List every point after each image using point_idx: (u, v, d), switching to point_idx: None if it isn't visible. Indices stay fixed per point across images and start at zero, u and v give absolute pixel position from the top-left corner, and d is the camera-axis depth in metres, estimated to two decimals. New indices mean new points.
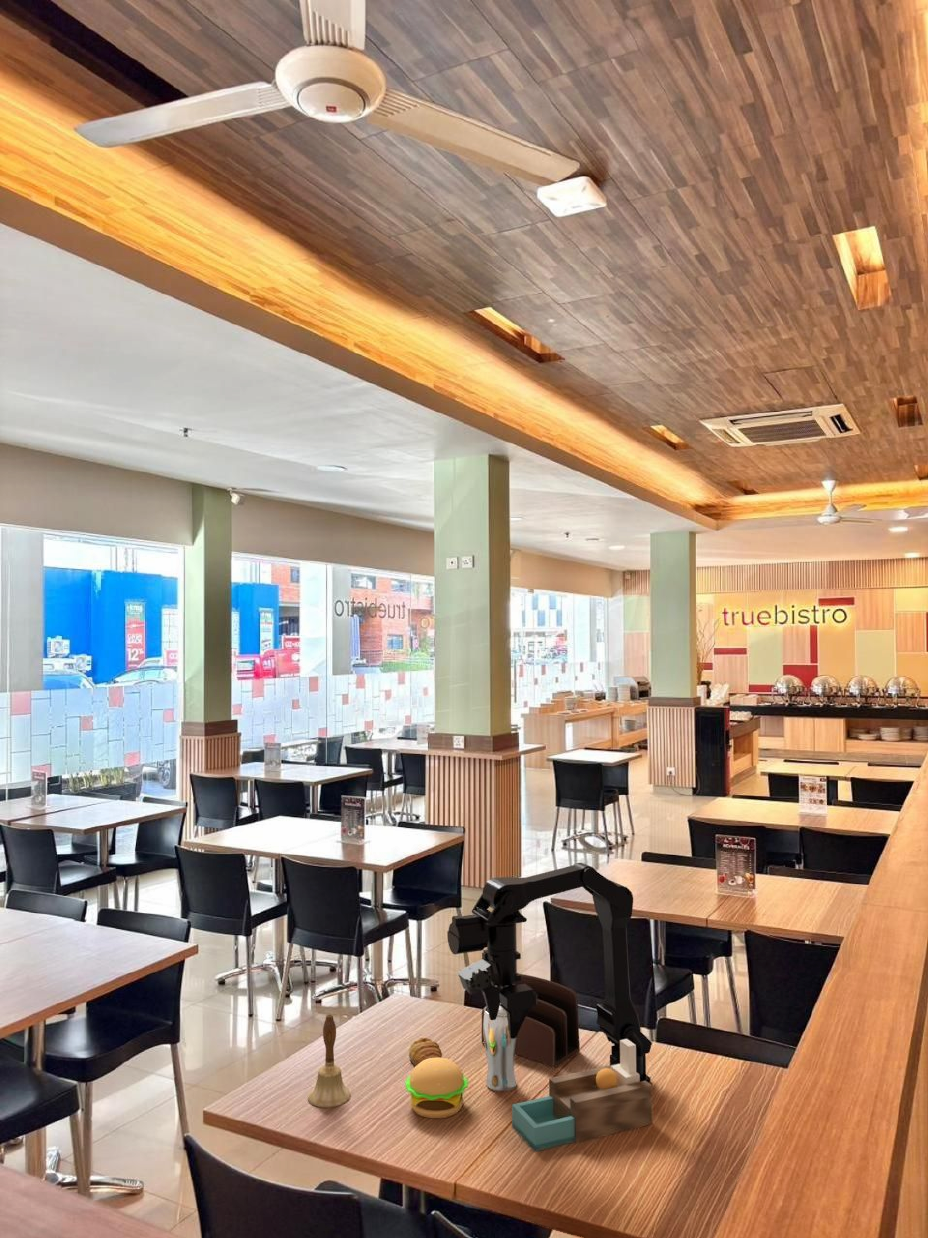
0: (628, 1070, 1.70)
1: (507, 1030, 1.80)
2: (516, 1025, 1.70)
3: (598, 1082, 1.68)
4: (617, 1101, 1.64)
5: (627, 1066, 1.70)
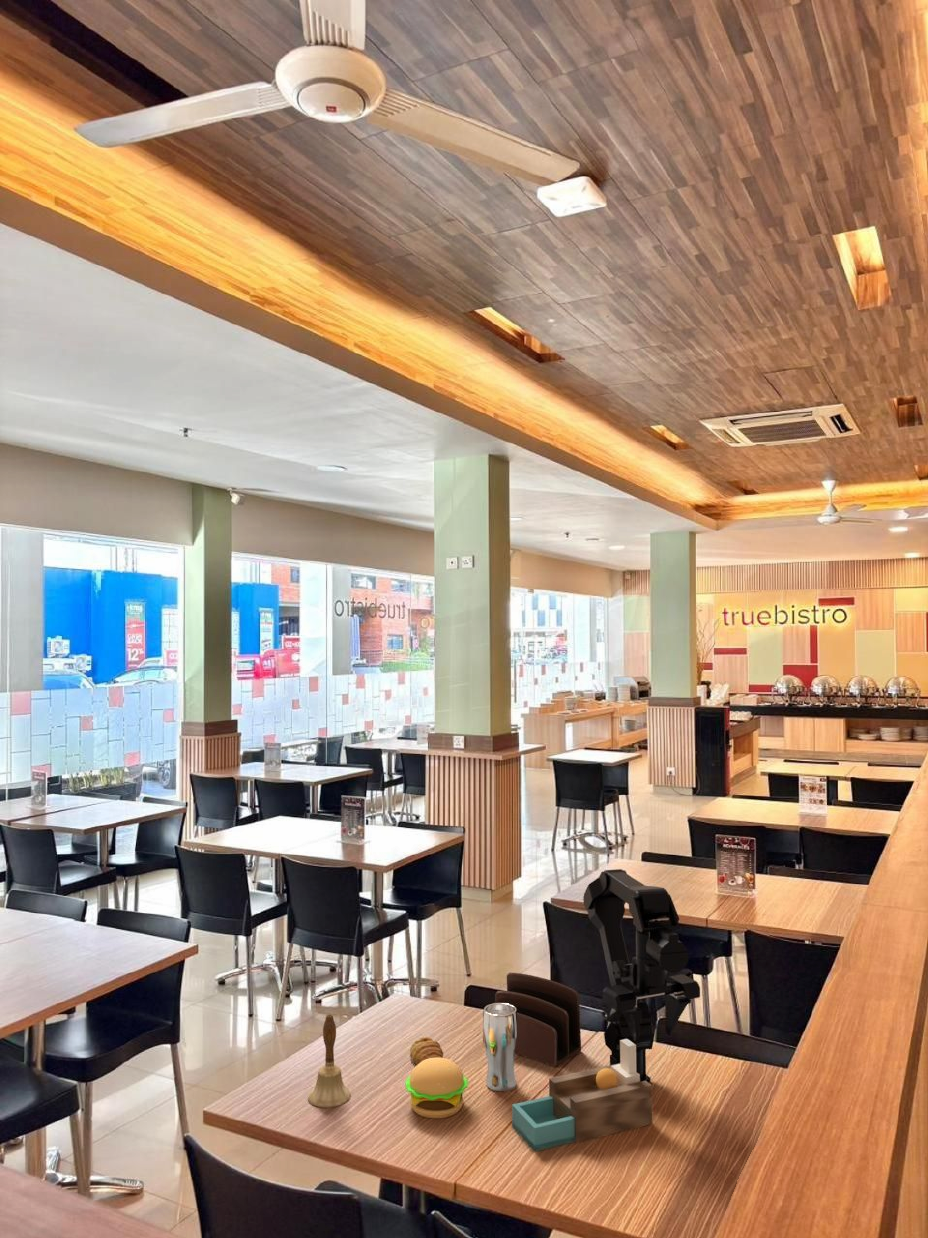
0: (628, 1070, 1.70)
1: (507, 1030, 1.80)
2: (631, 1028, 1.72)
3: (598, 1082, 1.68)
4: (617, 1101, 1.64)
5: (627, 1066, 1.70)
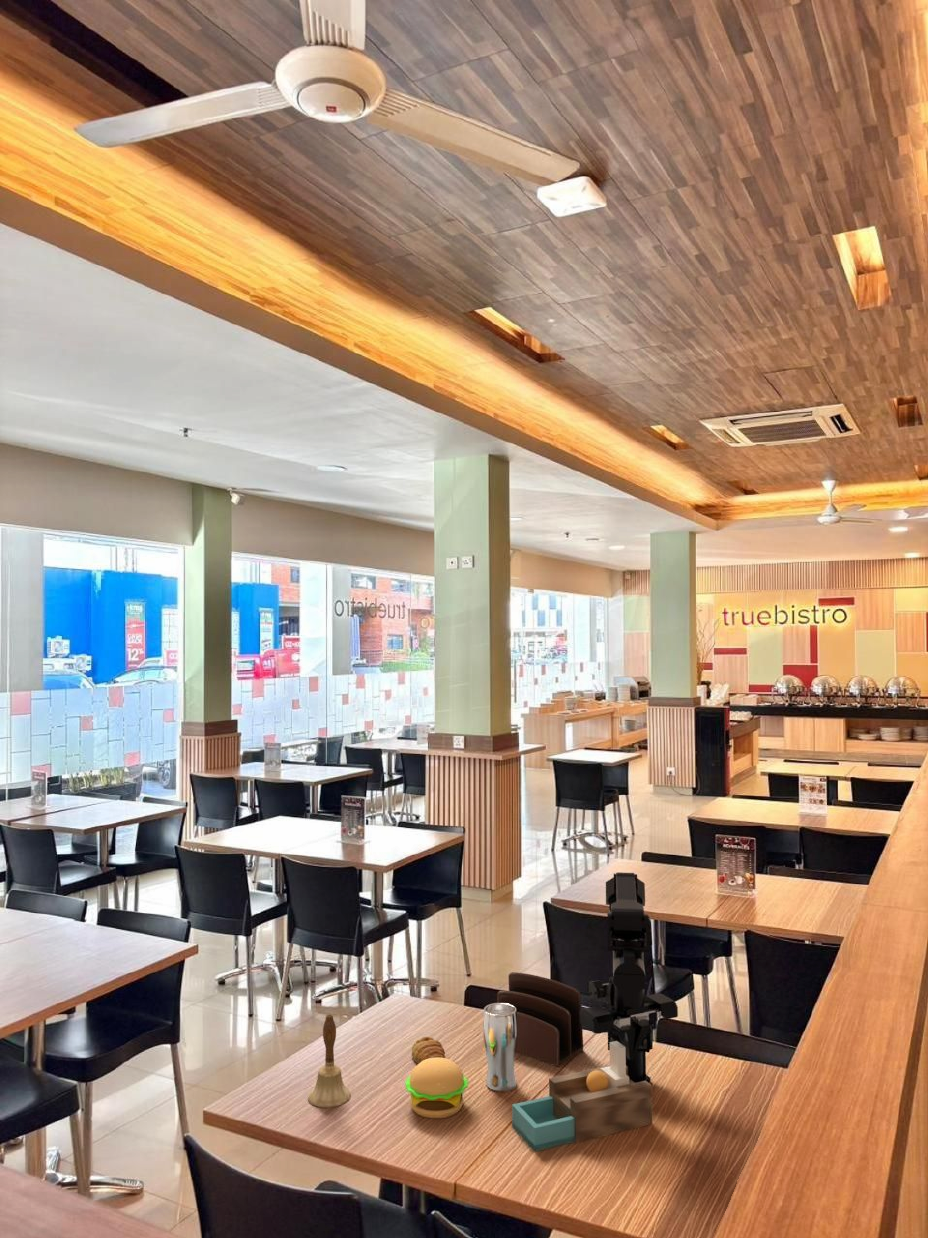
0: (617, 1072, 1.69)
1: (507, 1030, 1.80)
2: (625, 1046, 1.71)
3: None
4: (617, 1101, 1.64)
5: (616, 1068, 1.69)
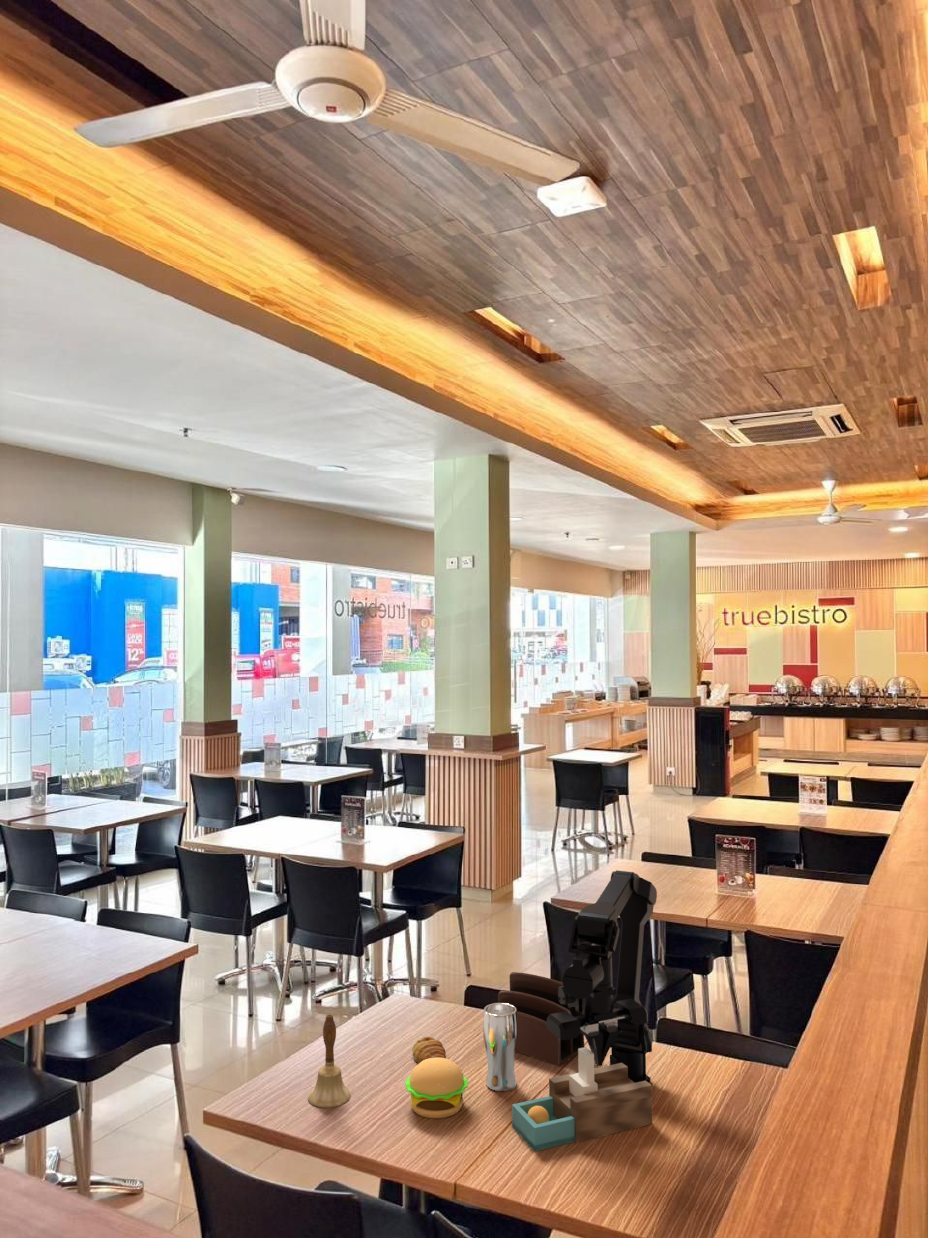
0: (585, 1079, 1.66)
1: (507, 1030, 1.80)
2: (594, 1052, 1.68)
3: None
4: (617, 1101, 1.64)
5: (584, 1075, 1.67)
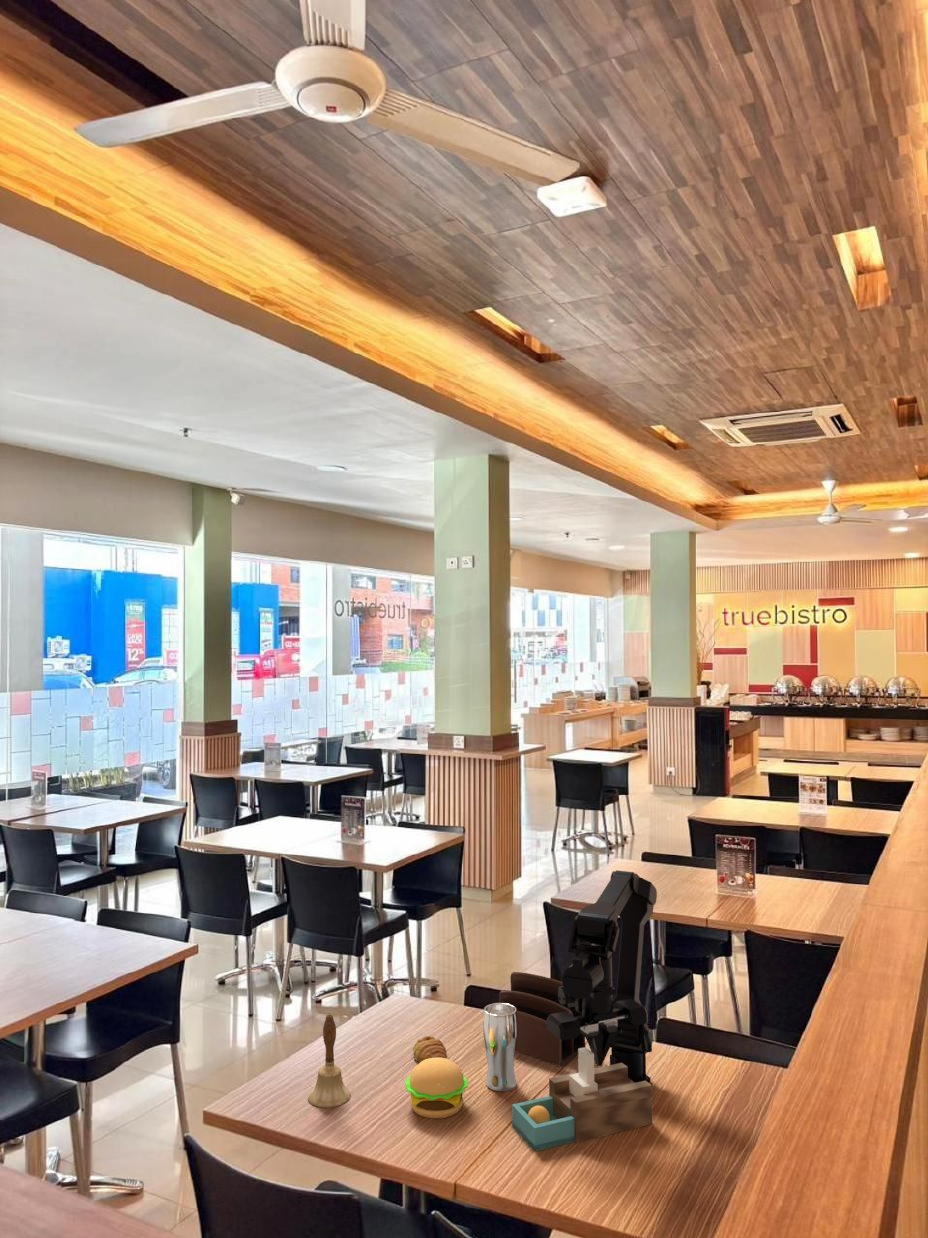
0: (585, 1079, 1.66)
1: (507, 1030, 1.80)
2: (594, 1052, 1.68)
3: None
4: (617, 1101, 1.64)
5: (584, 1075, 1.67)
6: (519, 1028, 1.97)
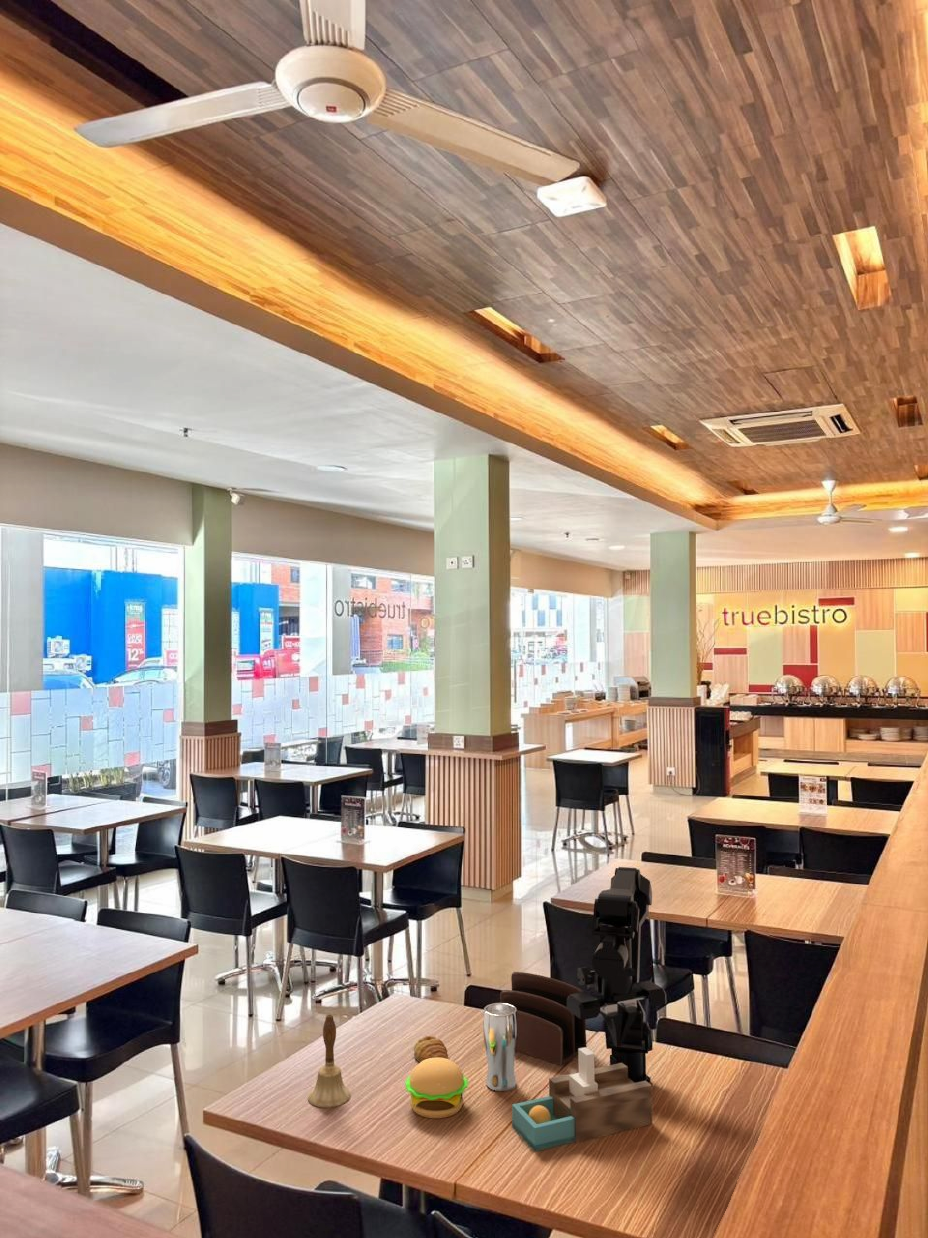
0: (586, 1079, 1.66)
1: (507, 1030, 1.80)
2: (612, 1032, 1.70)
3: None
4: (617, 1101, 1.64)
5: (585, 1075, 1.67)
6: (520, 1028, 1.97)
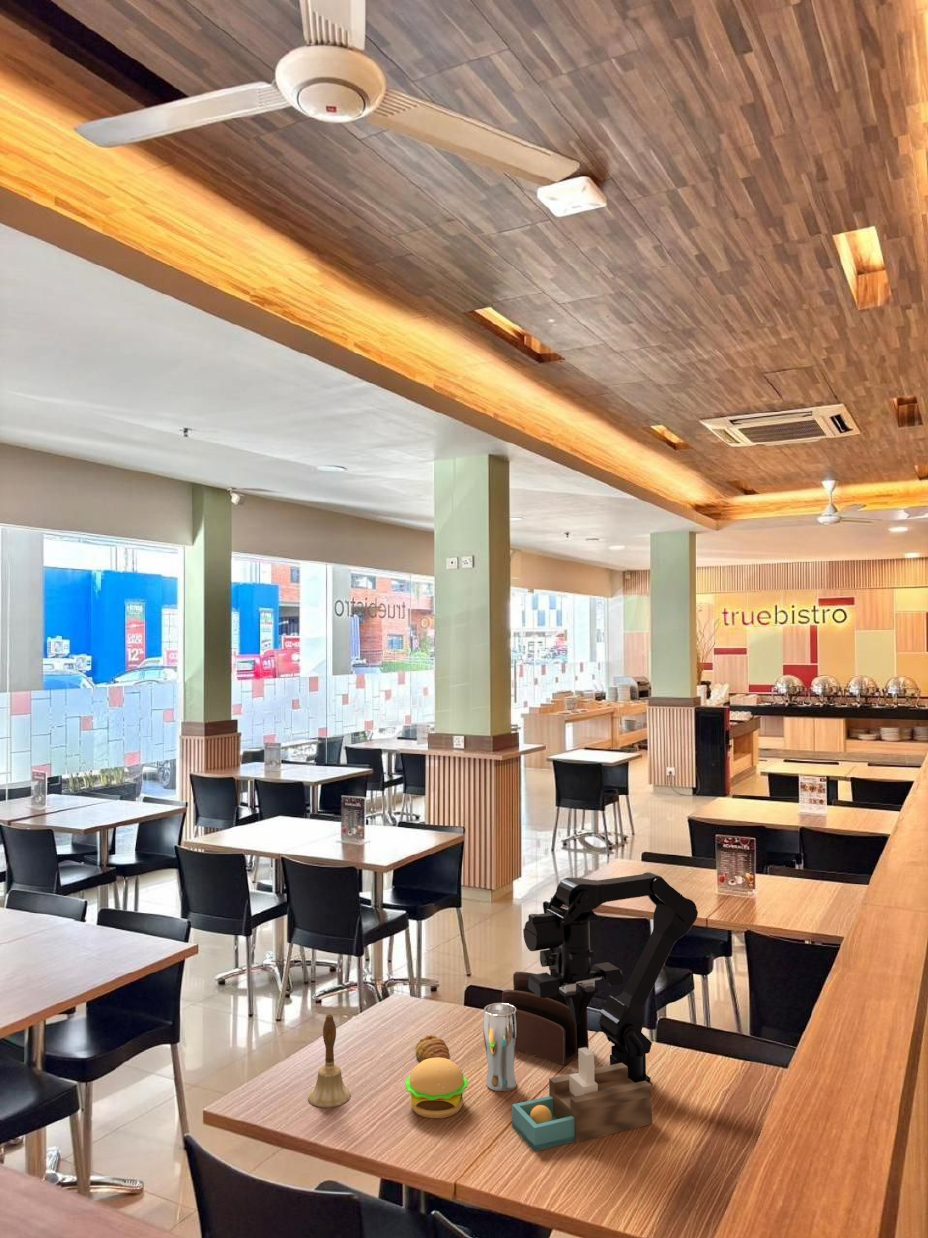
0: (586, 1079, 1.66)
1: (507, 1030, 1.80)
2: (571, 1011, 1.80)
3: None
4: (617, 1101, 1.64)
5: (585, 1075, 1.67)
6: (522, 1027, 1.98)
